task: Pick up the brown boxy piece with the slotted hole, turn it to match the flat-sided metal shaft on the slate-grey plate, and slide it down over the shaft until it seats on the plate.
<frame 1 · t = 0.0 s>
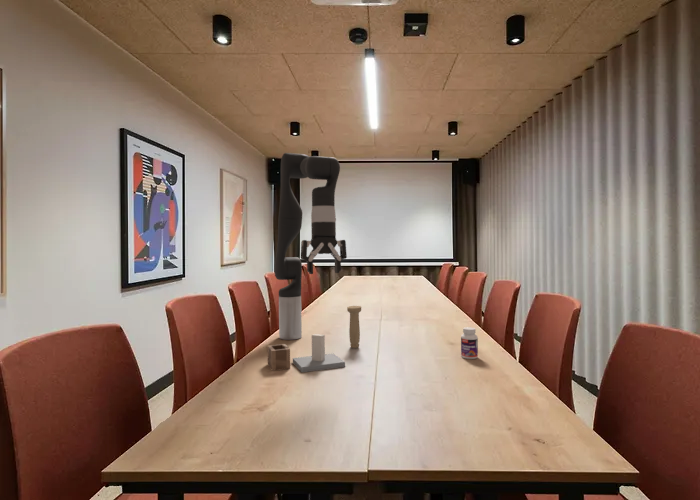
hand: (324, 273, 127), 29 cm above the table, tool pointing down, fingers open, 8 cm apart
brown boxy piece: (278, 366, 129), on the table
pill bottle: (469, 357, 137), on the table
handle: (354, 347, 152), on the table
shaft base: (318, 364, 130), on the table
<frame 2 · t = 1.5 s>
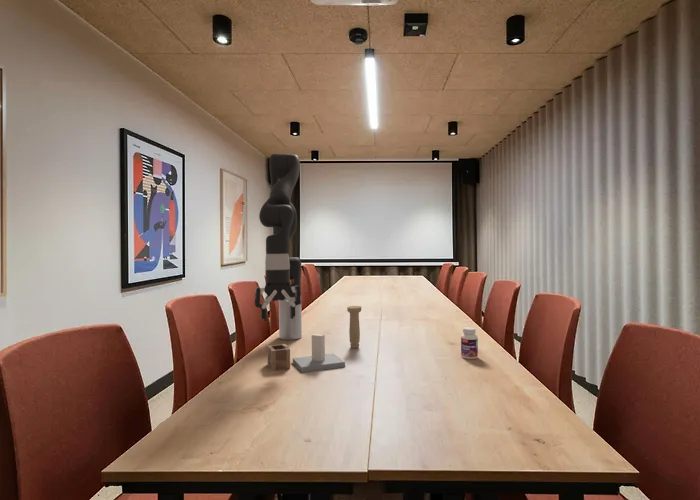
hand: (278, 319, 129), 15 cm above the table, tool pointing down, fingers open, 8 cm apart
nothing on the table moved.
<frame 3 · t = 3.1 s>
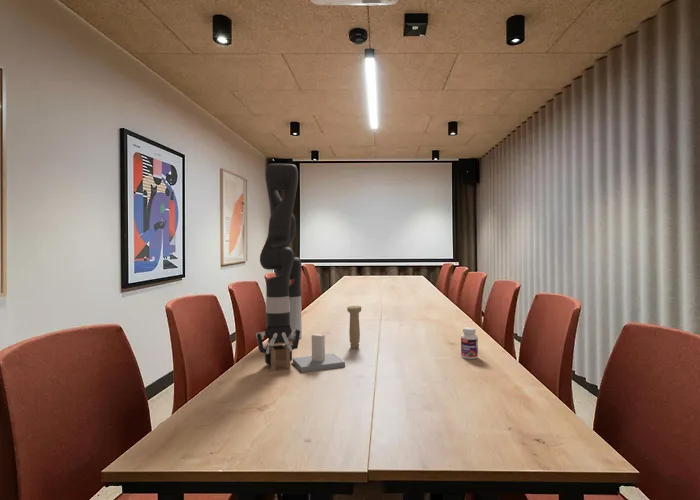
hand: (278, 363, 129), 1 cm above the table, tool pointing down, fingers closed on brown boxy piece, 5 cm apart
brown boxy piece: (278, 366, 129), on the table, touching gripper
everything else where it was.
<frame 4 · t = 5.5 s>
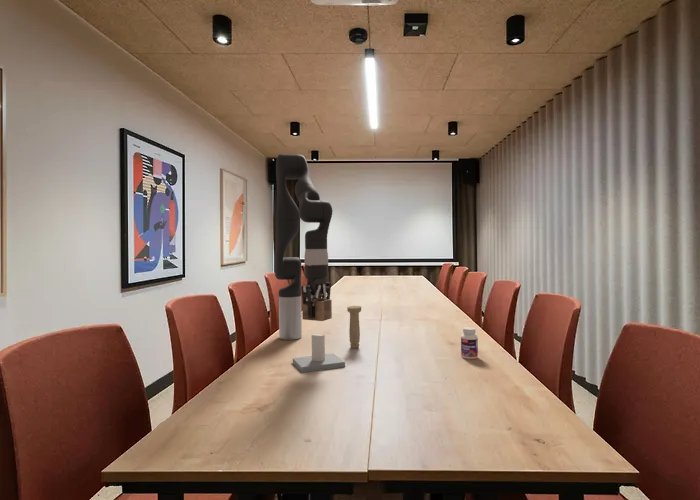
hand: (317, 316, 130), 16 cm above the table, tool pointing down, fingers closed on brown boxy piece, 5 cm apart
brown boxy piece: (317, 318, 130), point 15 cm above the table, touching gripper
everything else where it was.
when the fingers open (4 cm above the table, at t = 8.2 s): brown boxy piece drops 2 cm, resting on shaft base.
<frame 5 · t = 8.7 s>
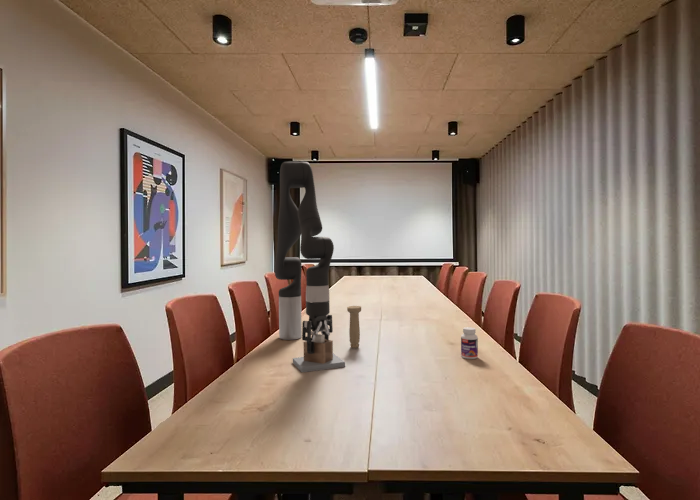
hand: (318, 350, 130), 5 cm above the table, tool pointing down, fingers open, 8 cm apart
brown boxy piece: (318, 359, 130), point 1 cm above the table, touching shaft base
everything else where it was.
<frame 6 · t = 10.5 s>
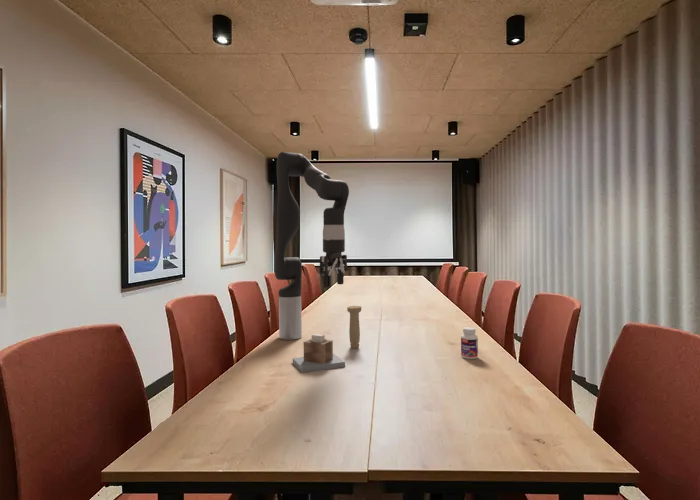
hand: (333, 285, 140), 24 cm above the table, tool pointing down, fingers open, 8 cm apart
nothing on the table moved.
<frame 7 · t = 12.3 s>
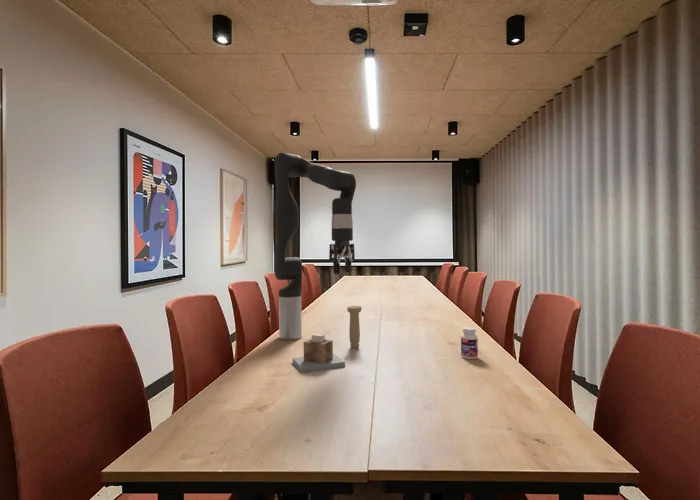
hand: (342, 273, 145), 28 cm above the table, tool pointing down, fingers open, 8 cm apart
nothing on the table moved.
at the end: brown boxy piece 0.0 cm off-centre on the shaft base, point 1.5 cm above the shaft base's base; brown boxy piece tilted 0°; the gripper is holding nothing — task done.
